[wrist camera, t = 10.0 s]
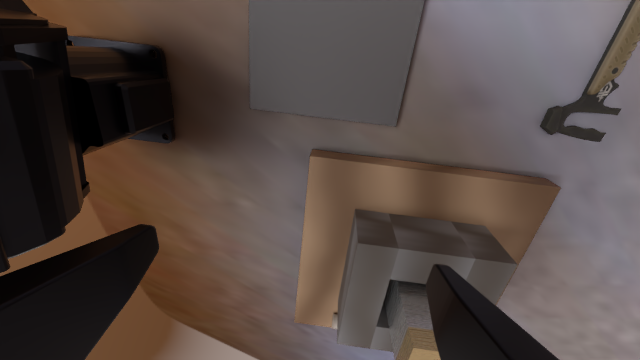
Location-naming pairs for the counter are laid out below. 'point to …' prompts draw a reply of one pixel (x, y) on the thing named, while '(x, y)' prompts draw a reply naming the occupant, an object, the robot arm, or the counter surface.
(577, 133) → the tactical tomahawk
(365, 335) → the stand
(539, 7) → the counter surface
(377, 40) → the key mat
